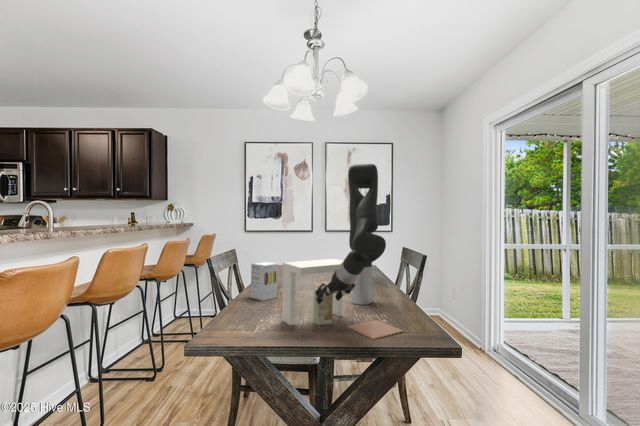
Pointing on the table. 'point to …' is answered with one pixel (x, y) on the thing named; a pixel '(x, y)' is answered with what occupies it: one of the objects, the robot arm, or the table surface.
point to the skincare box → (323, 310)
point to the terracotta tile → (374, 329)
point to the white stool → (303, 269)
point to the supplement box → (264, 281)
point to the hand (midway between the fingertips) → (327, 300)
